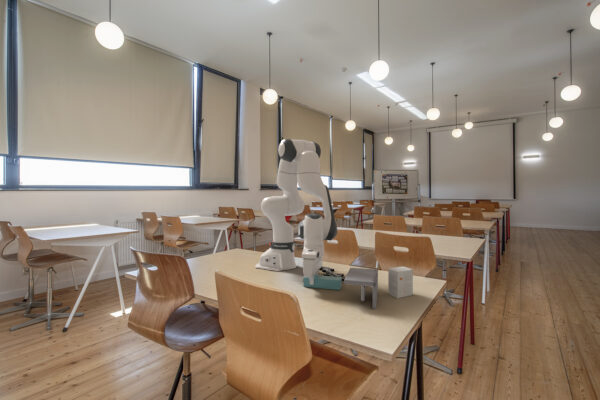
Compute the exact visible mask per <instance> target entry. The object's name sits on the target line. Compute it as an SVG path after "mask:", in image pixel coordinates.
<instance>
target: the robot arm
mask: <svg viewBox="0 0 600 400" xmlns="http://www.w3.org/2000/svg"><path fill="white" fill-rule="evenodd" d="M277 154H278V156H279V158H280V160H279V164H278V169H277V177H276V185H277V187H278V188H279V189H280V190H281V191H283V194H282V195H273V196H269V197H264V198H263V199H262V201H261V204H260V210H261V213H262V214H263V215H264V216H265V217H266V218H268V220H269V222H270V224H271V227H272V238H273V239H272V241H270V242H269V244H268V246H270V247H269V248H268V249H267V250H265V251H264V252H263V253H262V254H260V256H259V262H258V263H256V264H255V266H254V267H255V268H256V269H261V270H268V271H274V272H275V271H276V272H281V271H287V270H294V269H296V268H297V263H296V258H295V241H294V227H293V225H292V224H290V223H289V222H287V221H286V217H287V216H290V217H291V216H296V215H300V214H302V213H303V212H304V210H305V202H304V199H303V198H302V197H301V196H300V195H299V190H298V187H299V188H300V190H301V191H303V192H304V193H306V194H307V195H311V196H313V197H316V198H317V199H319V200H320V202H321V206H322V211H323V215H324V218H323V215H322V214H319V213H315V212H314V213H312V212H311V213H307V214H305V215H304V219H303V220H301V221H299V222H298V223H297V236H298V238H299V239H301V240H303V250H302V252H301V259H302V272H303V277H309V280H310V285H313V284H314V275H319V271H320V270H319V269H320V268H321V267H322V266H323V256H324V255H325V254H324V252H325V242H324V241H329V242H330V241H333V240H334V239H335V238H336V236H337V235H338V226H337V223H336V219H335V215H334V208H333V203H332V198H331V194H330V190H329V188H328V186H327V185H326V184H324V182H323V179H322V175H321V173H322V172H321V163H320V157H321V154H322V149H321V146H320V144H319V143H317V142H315V141H309V140H306V139H291V138H285V139H282V140H281V141H280V142H279V144H278V148H277Z"/></svg>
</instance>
